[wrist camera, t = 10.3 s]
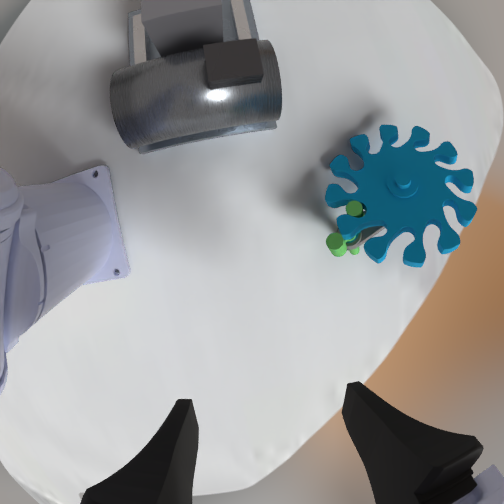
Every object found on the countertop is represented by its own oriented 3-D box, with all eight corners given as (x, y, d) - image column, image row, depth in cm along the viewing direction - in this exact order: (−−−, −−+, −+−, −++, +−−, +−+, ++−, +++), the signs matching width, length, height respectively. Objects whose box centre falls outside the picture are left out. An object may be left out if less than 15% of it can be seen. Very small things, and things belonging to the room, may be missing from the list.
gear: (403, 98, 16) (508, 196, 11) (407, 148, 21) (484, 234, 16) (280, 178, 18) (367, 310, 13) (306, 216, 23) (373, 321, 18)
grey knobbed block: (164, 63, 15) (141, 22, 10) (160, 10, 14) (141, -36, 8) (223, 51, 16) (222, 4, 10) (214, -1, 14) (211, -51, 8)
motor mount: (142, 154, 17) (99, 142, 11) (130, 16, 14) (100, -31, 8) (275, 128, 18) (299, 101, 11) (246, -7, 15) (253, -62, 8)
